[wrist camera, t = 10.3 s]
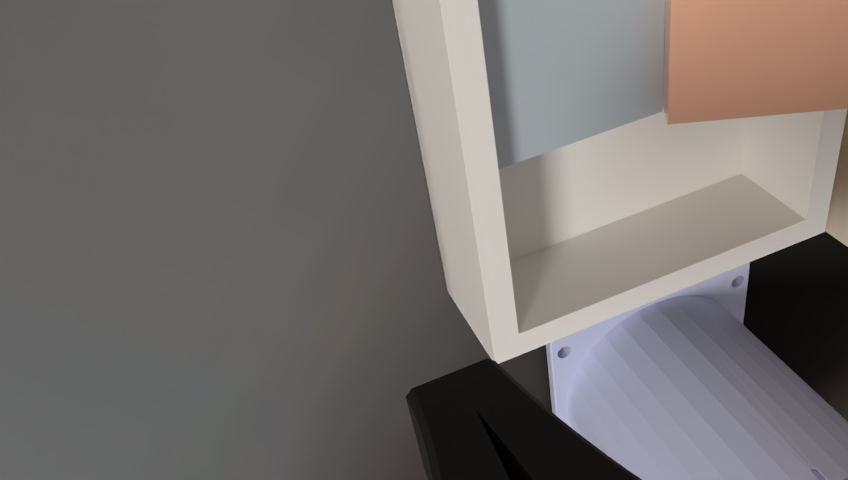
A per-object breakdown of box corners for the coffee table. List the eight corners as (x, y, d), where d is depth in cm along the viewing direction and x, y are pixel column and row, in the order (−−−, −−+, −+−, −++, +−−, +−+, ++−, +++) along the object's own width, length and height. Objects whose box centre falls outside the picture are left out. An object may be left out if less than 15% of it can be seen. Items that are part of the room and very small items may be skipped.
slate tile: (485, 173, 20) (454, 138, 21) (662, 111, 21) (620, 81, 22) (458, -27, 17) (424, -51, 18) (667, -89, 18) (617, -107, 19)
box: (747, 177, 27) (824, 231, 24) (447, 291, 25) (495, 364, 22) (811, -438, 17) (951, -460, 15) (328, -335, 15) (387, -339, 13)
